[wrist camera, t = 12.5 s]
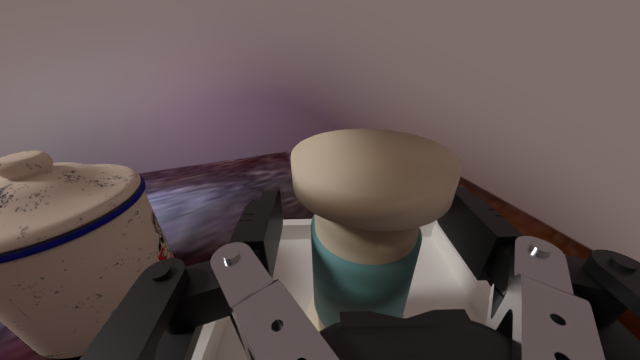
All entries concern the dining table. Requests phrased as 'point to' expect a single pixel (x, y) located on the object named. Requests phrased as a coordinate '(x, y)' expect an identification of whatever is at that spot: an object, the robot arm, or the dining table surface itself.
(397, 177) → the spool
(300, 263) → the tray
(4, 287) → the teacup with lid
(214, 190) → the dining table surface
